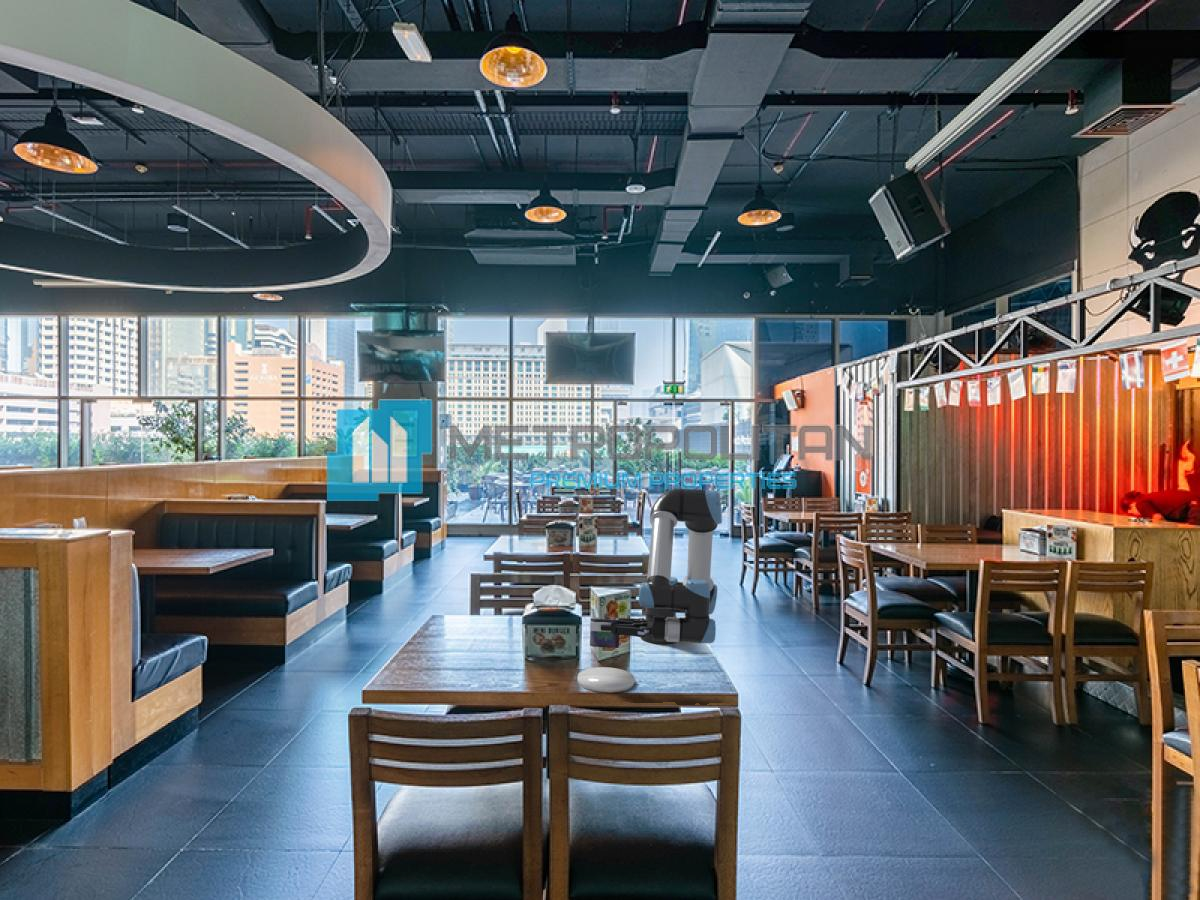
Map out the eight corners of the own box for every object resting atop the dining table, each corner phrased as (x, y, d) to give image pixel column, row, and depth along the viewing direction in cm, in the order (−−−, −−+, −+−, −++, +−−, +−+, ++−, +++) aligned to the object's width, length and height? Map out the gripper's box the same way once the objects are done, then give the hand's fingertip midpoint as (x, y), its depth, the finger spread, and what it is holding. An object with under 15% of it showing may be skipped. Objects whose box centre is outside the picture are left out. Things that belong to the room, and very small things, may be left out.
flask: (589, 646, 217) (590, 612, 217) (590, 643, 220) (591, 610, 220) (618, 648, 217) (620, 614, 216) (619, 645, 219) (620, 612, 219)
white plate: (580, 670, 228) (580, 665, 228) (634, 673, 227) (635, 669, 227) (574, 690, 210) (574, 685, 210) (633, 694, 209) (634, 689, 209)
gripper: (665, 610, 225) (593, 606, 226) (666, 623, 209) (589, 619, 210) (664, 633, 225) (592, 629, 226) (665, 648, 209) (588, 644, 211)
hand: (590, 624), depth 218 cm, fingers closed on flask, 3 cm apart
